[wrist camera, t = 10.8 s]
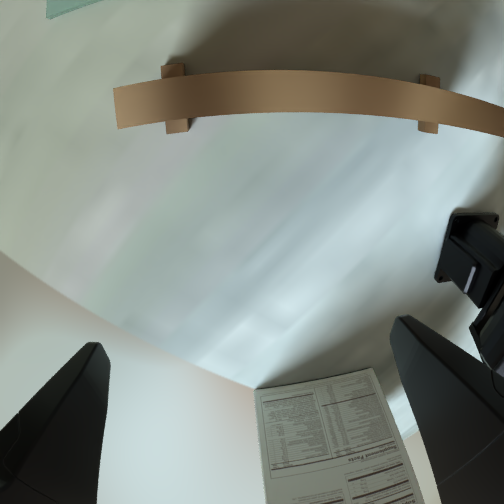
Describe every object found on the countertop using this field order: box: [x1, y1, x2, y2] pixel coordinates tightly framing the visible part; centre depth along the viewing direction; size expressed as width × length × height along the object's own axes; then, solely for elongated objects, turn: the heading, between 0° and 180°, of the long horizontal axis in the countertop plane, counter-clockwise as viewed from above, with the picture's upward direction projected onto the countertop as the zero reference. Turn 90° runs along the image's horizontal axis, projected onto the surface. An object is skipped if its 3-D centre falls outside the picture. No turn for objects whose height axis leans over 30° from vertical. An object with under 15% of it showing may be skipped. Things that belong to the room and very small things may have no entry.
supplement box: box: [254, 368, 425, 504], centre depth 25 cm, size 13×13×18 cm
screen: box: [113, 63, 504, 137], centre depth 12 cm, size 18×4×8 cm, turn 93°
